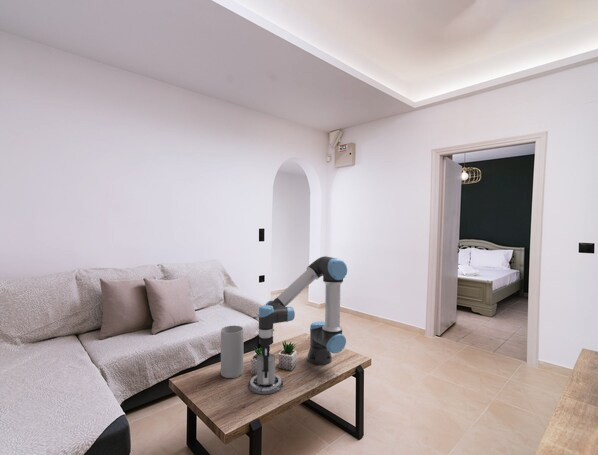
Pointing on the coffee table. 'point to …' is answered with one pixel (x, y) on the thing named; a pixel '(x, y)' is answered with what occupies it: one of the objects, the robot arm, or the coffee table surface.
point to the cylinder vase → (231, 351)
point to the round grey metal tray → (265, 386)
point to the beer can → (270, 367)
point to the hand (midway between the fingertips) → (265, 378)
